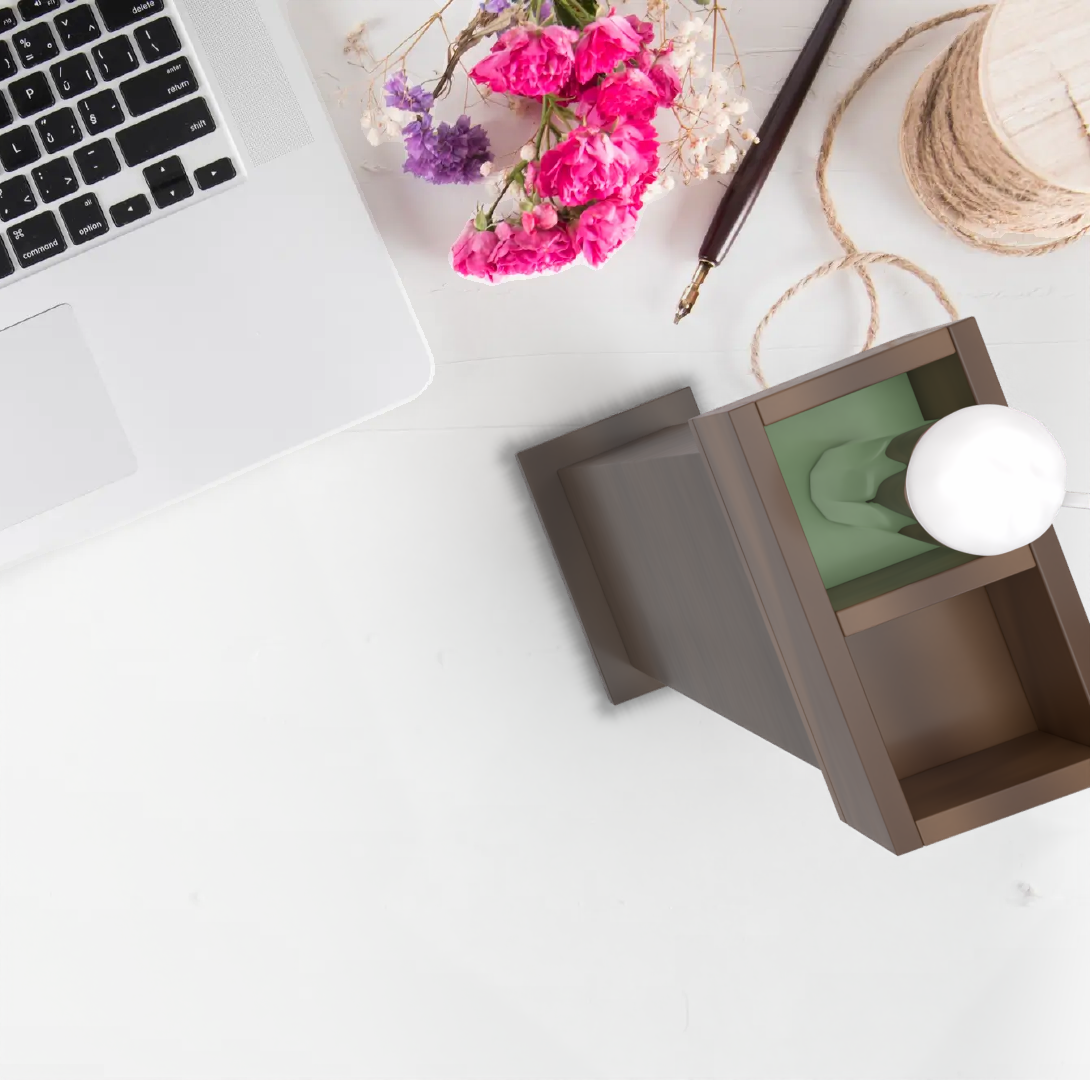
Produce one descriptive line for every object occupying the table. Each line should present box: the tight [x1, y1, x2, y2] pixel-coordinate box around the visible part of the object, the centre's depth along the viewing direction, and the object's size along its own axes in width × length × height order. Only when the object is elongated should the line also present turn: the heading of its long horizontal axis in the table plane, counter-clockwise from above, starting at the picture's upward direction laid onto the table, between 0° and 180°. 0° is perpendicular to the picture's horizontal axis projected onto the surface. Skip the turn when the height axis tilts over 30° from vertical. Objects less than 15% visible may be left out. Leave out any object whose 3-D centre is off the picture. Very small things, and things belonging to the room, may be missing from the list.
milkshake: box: [810, 404, 1090, 556], centre depth 34 cm, size 4×5×10 cm
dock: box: [688, 315, 1090, 857], centre depth 38 cm, size 9×17×4 cm, turn 21°
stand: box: [514, 385, 821, 771], centre depth 54 cm, size 12×18×28 cm, turn 21°
